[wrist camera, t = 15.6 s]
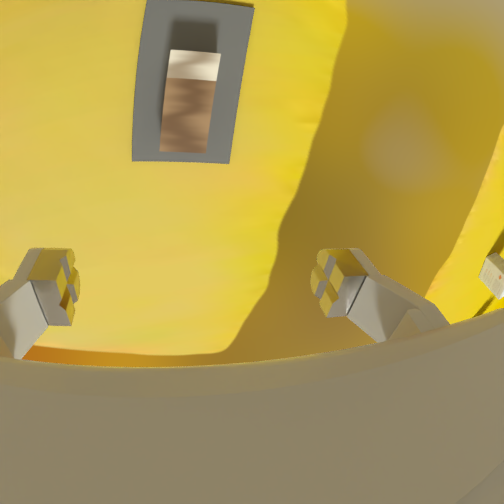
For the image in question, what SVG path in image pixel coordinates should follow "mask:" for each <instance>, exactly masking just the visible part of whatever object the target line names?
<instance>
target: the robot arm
mask: <svg viewBox="0 0 504 504" xmlns="http://www.w3.org/2000/svg"><path fill="white" fill-rule="evenodd" d="M74 262H75V256H74V252H73V250H72V249H71V248H31V249H29V250H28V252H27V254H26V256H25V257H24V259H23V261H22V263H21V265H20V267H19V268H18V270H17V272H16V274H15V276H14V278H13V280H8V281H6V282H5V283H4V284H2V285H1V286H0V504H504V308H500V309H497V310H494V311H491V312H488V313H485V314H482V315H479V316H476V317H473V318H470V319H467V320H464V321H461V322H457V323H454V324H449V323H448V321H447V320H446V319H445V317H444V316H443V315H442V313H441V312H440V311H439V309H438V308H437V307H436V306H435V304H433V303H431V302H430V301H428V300H426V299H425V298H423V297H421V296H420V295H418V294H416V293H415V292H413V291H411V290H410V289H408V288H406V287H404V286H403V285H401V284H399V283H397V282H396V281H394V280H392V279H390V278H389V277H387V276H385V275H381V274H380V273H379V272H378V270H377V269H376V268H375V266H373V264H372V263H371V262H370V260H369V259H368V258H367V257H366V255H365V254H364V253H363V252H362V251H361V250H360V249H358V248H349V249H321V250H320V252H319V253H318V256H317V262H318V265H317V266H316V267H315V268H314V269H313V270H312V274H311V288H312V291H313V293H314V295H315V296H317V297H318V298H320V299H321V300H320V303H319V305H320V307H321V308H322V310H323V312H324V314H325V316H326V317H327V318H328V317H338V316H347V317H348V318H349V319H350V320H351V321H352V322H354V323H355V324H356V325H358V327H360V328H361V329H362V330H363V331H365V332H366V333H367V334H368V335H369V336H370V337H372V338H373V339H374V340H375V341H377V342H378V343H374V344H370V345H365V346H360V347H355V348H349V349H343V350H338V351H332V352H326V353H319V354H313V355H306V356H299V357H292V358H284V359H275V360H267V361H257V362H247V363H235V364H224V365H206V366H186V367H185V366H184V367H106V366H104V367H103V366H83V365H69V364H58V363H47V362H38V361H30V360H22V358H23V356H24V355H25V354H26V353H27V351H28V350H29V349H30V348H31V346H32V345H33V344H34V343H35V342H36V340H37V339H38V338H39V337H40V336H41V335H42V333H43V332H44V331H45V330H46V329H47V328H48V325H53V326H71V325H72V321H73V317H74V313H75V308H74V305H73V304H74V303H75V302H76V301H77V300H78V298H79V294H80V279H79V274H78V271H77V270H76V269H75V268H74V267H73V265H74Z"/></svg>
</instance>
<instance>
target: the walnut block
mask: <svg viewBox="0 0 504 504" xmlns="http://www.w3.org/2000/svg"><path fill="white" fill-rule="evenodd" d="M220 57H221V54H218V53H209V52H198V51H185V50H171V51H170V58H169V65H168V72H167V79H166V87H165V95H164V104H163V114H162V124H161V136H160V149H159V151H163V152H187V153H205V154H206V148H207V140H208V133H209V126H210V119H211V112H212V105H213V99H214V93H215V86H216V80H217V74H218V68H219V63H220Z"/></svg>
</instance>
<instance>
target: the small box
mask: <svg viewBox="0 0 504 504" xmlns="http://www.w3.org/2000/svg"><path fill="white" fill-rule="evenodd" d="M479 278H480V279H481V280H482V282H483V283H484V284H485V285H486V286H487V287H488V288H489V289H490V290H491V291H492V293H493V294H494V295H495V296H496V297H497V298H498V299H500V298H502V297H504V259H503V258H502V257H501V256H500V255H499V254H497V253H496V252H495V253H493V254H491V255H489V256H487V257H486V259H485V262H484V264H483V267H482V269H481V272H480V274H479Z"/></svg>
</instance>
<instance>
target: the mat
mask: <svg viewBox="0 0 504 504" xmlns="http://www.w3.org/2000/svg"><path fill="white" fill-rule="evenodd" d="M254 9H255V8H251V7H245V6H239V5H231V4H224V3H215V2H204V1H190V0H147V4H146V9H145V15H144V21H143V27H142V34H141V41H140V48H139V56H138V65H137V75H136V86H135V98H134V114H133V138H132V161H169V162H201V163H221V164H229V161H230V154H231V147H232V140H233V133H234V126H235V120H236V113H237V107H238V100H239V94H240V88H241V82H242V76H243V70H244V64H245V58H246V52H247V47H248V41H249V36H250V30H251V25H252V19H253V14H254ZM171 50H185V51H198V52H209V53H218V54H221V57H220V63H219V68H218V74H217V80H216V86H215V93H214V99H213V105H212V112H211V119H210V126H209V133H208V140H207V148H206V154H205V153H187V152H163V151H159V149H160V136H161V124H162V114H163V104H164V95H165V87H166V79H167V72H168V65H169V58H170V51H171Z"/></svg>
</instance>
